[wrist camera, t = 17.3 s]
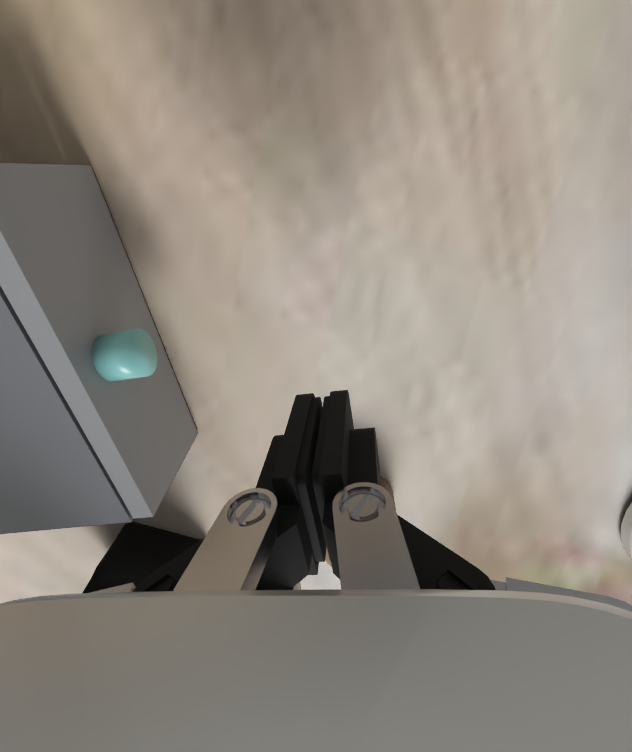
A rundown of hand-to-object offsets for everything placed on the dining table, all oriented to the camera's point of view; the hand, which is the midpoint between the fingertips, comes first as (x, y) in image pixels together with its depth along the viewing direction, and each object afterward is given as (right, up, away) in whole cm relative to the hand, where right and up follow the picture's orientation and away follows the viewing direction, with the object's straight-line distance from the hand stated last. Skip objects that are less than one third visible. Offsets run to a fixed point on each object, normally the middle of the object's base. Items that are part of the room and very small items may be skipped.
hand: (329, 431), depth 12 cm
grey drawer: (-16, +4, +8) cm, 18 cm away
